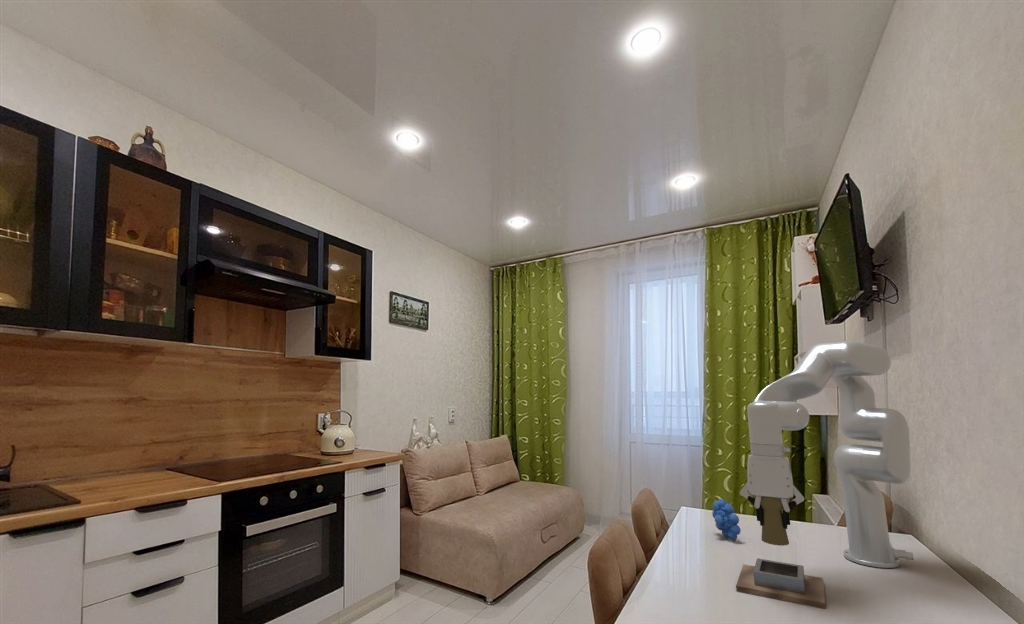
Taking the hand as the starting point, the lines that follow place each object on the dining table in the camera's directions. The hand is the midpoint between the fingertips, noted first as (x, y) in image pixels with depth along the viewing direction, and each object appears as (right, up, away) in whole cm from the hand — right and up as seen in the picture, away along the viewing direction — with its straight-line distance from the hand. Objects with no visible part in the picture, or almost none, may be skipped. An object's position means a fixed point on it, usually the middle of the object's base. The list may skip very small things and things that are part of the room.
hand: (773, 525), depth 116 cm
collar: (0, -13, -2) cm, 13 cm away
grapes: (+4, -20, +34) cm, 40 cm away
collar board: (0, -14, -2) cm, 14 cm away
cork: (0, -4, -1) cm, 4 cm away
